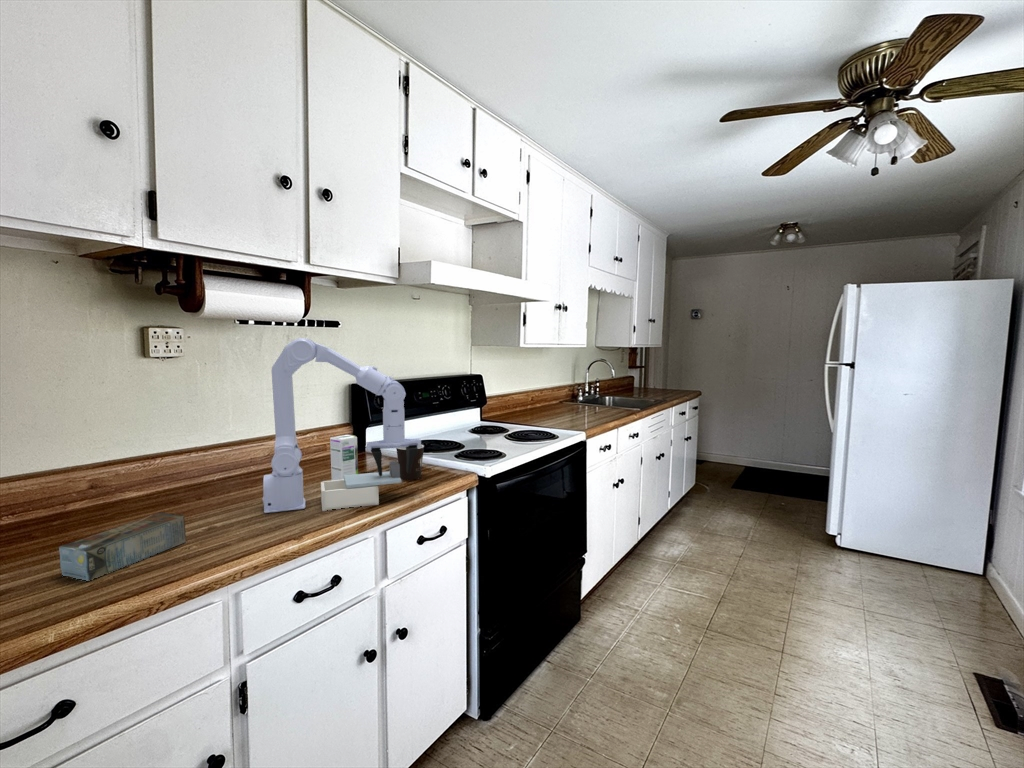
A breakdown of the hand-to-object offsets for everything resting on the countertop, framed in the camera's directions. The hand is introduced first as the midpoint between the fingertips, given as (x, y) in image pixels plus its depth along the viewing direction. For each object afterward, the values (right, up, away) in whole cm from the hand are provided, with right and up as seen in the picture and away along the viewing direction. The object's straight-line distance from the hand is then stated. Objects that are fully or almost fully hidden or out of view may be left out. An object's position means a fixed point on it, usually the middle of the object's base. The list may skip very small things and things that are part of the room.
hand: (394, 473), depth 136 cm
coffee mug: (+1, -5, +21) cm, 22 cm away
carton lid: (-6, -1, -2) cm, 6 cm away
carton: (-11, -7, -4) cm, 14 cm away
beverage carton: (-43, -10, -39) cm, 59 cm away
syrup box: (-18, -6, +13) cm, 23 cm away
